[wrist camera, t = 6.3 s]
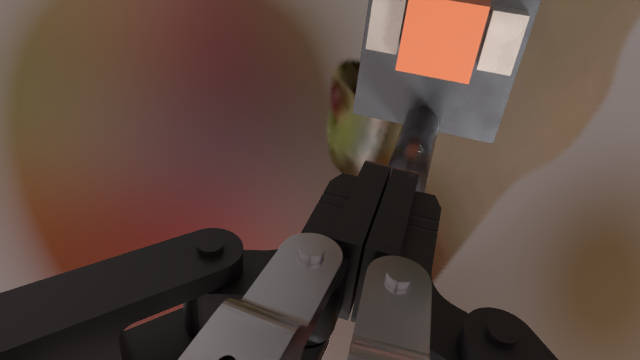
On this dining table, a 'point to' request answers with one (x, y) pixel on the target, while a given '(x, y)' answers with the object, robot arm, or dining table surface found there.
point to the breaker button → (442, 38)
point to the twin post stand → (439, 82)
